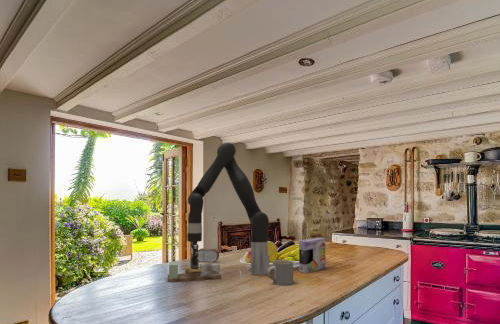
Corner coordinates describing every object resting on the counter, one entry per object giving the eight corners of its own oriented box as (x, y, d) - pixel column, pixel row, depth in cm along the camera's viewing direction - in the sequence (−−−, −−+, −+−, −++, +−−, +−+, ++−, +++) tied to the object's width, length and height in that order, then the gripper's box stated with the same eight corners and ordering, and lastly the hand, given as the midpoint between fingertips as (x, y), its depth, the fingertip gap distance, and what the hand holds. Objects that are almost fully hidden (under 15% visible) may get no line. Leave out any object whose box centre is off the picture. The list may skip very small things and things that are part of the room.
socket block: (177, 274, 177) (177, 261, 178) (177, 278, 170) (177, 264, 170) (168, 275, 176) (169, 262, 177) (169, 278, 169) (169, 265, 169)
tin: (219, 261, 219) (219, 248, 220) (218, 262, 216) (218, 249, 217) (196, 261, 221) (196, 248, 222) (195, 262, 218) (195, 248, 219)
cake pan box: (304, 273, 185) (303, 240, 187) (297, 272, 189) (296, 239, 191) (326, 269, 197) (325, 238, 199) (319, 267, 201) (319, 237, 203)
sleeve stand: (218, 274, 183) (218, 262, 184) (221, 279, 174) (221, 266, 174) (167, 277, 177) (167, 264, 178) (167, 282, 167) (168, 268, 168)
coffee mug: (289, 279, 172) (288, 259, 173) (296, 284, 163) (296, 263, 164) (263, 281, 169) (263, 260, 170) (269, 286, 160) (269, 264, 161)
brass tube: (217, 271, 180) (217, 256, 181) (218, 272, 177) (218, 257, 178) (185, 273, 176) (185, 258, 177) (185, 274, 173) (185, 259, 174)
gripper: (203, 233, 172) (202, 266, 170) (200, 230, 186) (199, 260, 184) (188, 233, 170) (187, 266, 168) (186, 230, 184) (185, 261, 182)
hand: (193, 263), depth 176 cm, fingers open, 8 cm apart
